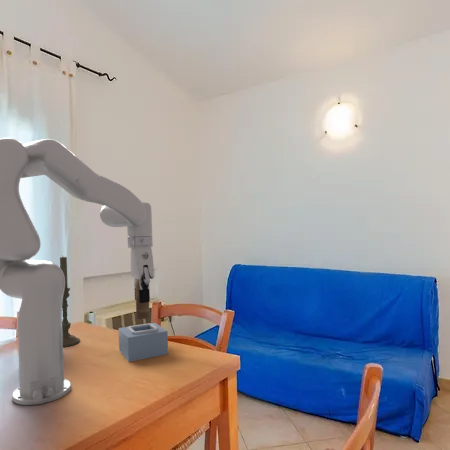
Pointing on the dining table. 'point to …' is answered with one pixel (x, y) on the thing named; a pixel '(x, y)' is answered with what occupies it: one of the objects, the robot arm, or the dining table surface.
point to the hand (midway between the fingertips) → (142, 300)
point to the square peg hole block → (143, 341)
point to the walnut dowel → (141, 304)
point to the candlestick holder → (67, 338)
